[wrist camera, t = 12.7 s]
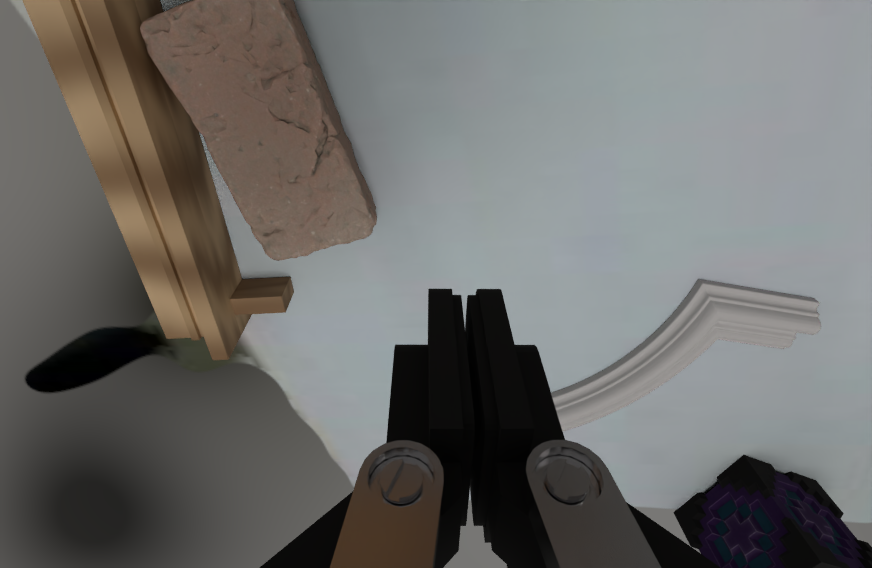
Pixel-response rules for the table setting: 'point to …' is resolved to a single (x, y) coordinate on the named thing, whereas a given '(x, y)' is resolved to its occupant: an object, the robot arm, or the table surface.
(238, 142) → the brick
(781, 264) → the table surface
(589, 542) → the robot arm
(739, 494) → the energy cube
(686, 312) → the molding
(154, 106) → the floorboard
